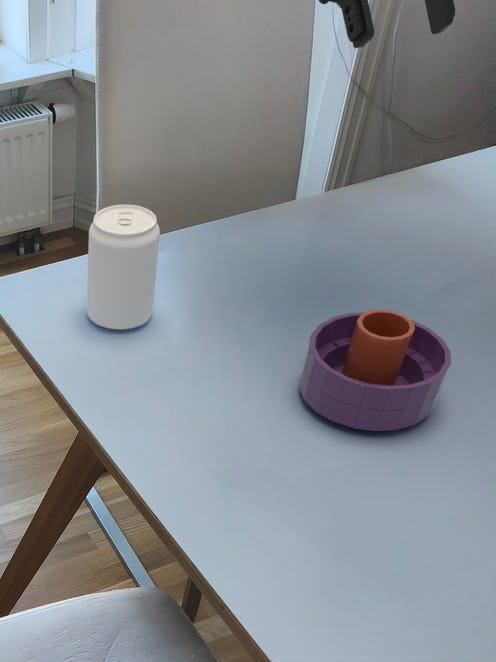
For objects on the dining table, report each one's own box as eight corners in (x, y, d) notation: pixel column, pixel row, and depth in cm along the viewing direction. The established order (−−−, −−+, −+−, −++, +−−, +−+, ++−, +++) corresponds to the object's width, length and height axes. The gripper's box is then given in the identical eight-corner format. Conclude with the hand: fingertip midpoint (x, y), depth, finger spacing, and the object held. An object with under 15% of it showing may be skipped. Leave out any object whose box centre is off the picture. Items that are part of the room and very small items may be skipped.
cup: (330, 378, 98) (348, 312, 92) (379, 372, 98) (401, 306, 92) (349, 408, 94) (370, 342, 88) (400, 402, 95) (424, 336, 89)
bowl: (352, 345, 103) (366, 297, 99) (458, 400, 96) (479, 352, 91) (271, 393, 98) (281, 345, 93) (376, 455, 91) (394, 406, 86)
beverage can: (83, 332, 107) (86, 235, 98) (89, 297, 112) (92, 201, 103) (150, 335, 106) (159, 237, 97) (153, 299, 111) (162, 203, 102)
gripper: (320, -178, 74) (362, 22, 76) (461, -196, 77) (499, -2, 79) (275, -110, 81) (315, 71, 83) (405, -128, 84) (441, 47, 86)
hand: (404, 35), depth 81 cm, fingers open, 8 cm apart
